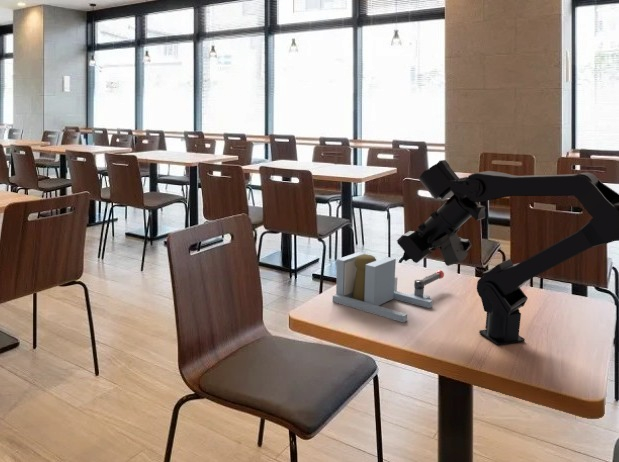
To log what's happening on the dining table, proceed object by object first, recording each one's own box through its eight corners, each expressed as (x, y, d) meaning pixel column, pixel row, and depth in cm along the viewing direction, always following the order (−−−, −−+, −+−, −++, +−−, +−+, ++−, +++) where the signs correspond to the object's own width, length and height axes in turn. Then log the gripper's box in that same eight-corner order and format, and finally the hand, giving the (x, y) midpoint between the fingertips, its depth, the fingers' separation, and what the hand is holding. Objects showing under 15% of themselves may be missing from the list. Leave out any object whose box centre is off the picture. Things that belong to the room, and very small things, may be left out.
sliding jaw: (393, 298, 130) (395, 258, 128) (373, 308, 123) (374, 266, 121) (384, 295, 132) (386, 256, 130) (363, 305, 125) (364, 264, 123)
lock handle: (421, 290, 129) (421, 282, 128) (412, 288, 130) (412, 280, 130) (445, 278, 138) (446, 270, 138) (437, 276, 140) (437, 268, 139)
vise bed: (441, 301, 129) (443, 261, 127) (403, 322, 116) (405, 278, 114) (371, 283, 142) (373, 247, 140) (331, 300, 129) (331, 260, 126)
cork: (376, 295, 133) (378, 252, 130) (377, 304, 127) (378, 259, 125) (352, 294, 133) (353, 251, 131) (351, 302, 128) (352, 258, 125)
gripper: (459, 259, 104) (409, 301, 113) (492, 233, 118) (445, 273, 127) (420, 216, 106) (375, 261, 116) (457, 196, 120) (414, 237, 130)
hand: (404, 259), depth 122 cm, fingers closed
